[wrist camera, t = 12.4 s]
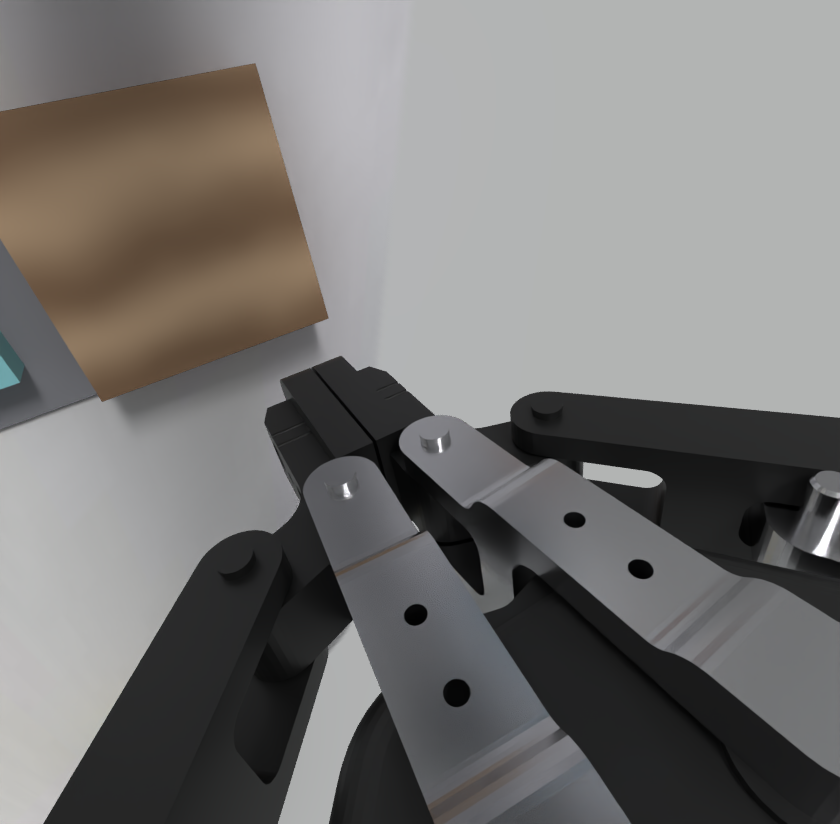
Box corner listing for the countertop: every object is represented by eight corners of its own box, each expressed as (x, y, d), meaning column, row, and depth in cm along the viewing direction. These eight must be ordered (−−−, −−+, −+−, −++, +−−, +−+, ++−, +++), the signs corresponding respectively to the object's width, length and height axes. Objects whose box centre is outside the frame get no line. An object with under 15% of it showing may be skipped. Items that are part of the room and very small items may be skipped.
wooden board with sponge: (-51, 123, 24) (-71, 125, 21) (238, 68, 29) (255, 63, 26) (101, 374, 32) (102, 401, 29) (309, 301, 37) (328, 318, 34)
